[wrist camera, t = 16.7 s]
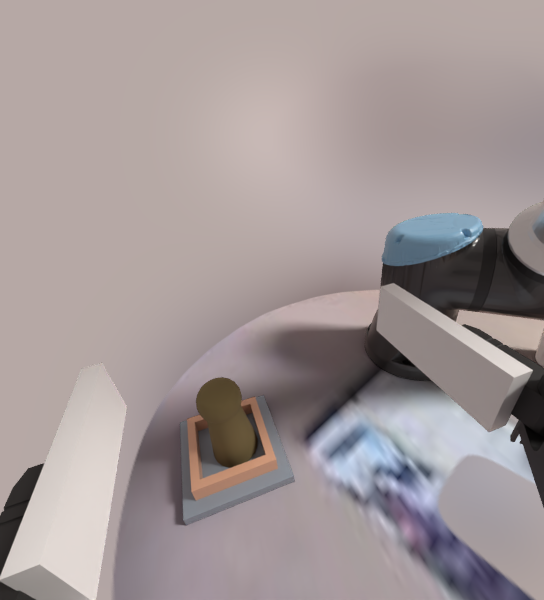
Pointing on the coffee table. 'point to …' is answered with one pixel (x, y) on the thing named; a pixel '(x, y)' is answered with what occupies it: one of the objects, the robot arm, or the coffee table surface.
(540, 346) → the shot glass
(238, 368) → the coffee table surface
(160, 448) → the coffee table surface
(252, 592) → the coffee table surface
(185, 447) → the pallet plate
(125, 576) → the coffee table surface
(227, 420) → the cork
